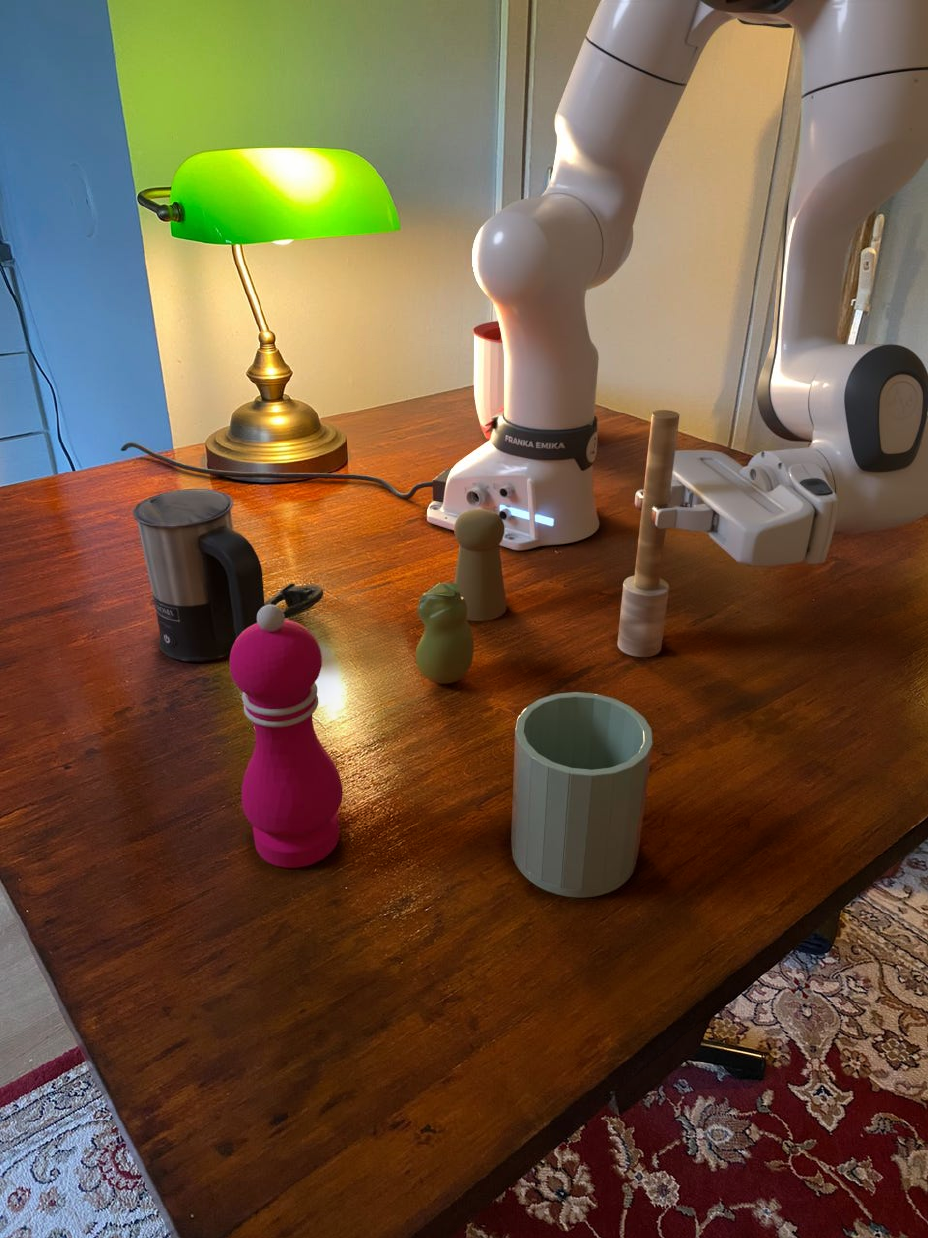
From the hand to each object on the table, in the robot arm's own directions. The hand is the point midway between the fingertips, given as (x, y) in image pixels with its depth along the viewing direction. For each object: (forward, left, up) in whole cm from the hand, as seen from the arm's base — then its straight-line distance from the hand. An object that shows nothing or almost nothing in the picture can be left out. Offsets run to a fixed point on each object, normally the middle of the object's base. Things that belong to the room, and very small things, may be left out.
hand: (646, 509), depth 84 cm
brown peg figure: (-17, +1, -15) cm, 23 cm away
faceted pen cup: (+5, -29, -15) cm, 33 cm away
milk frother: (-37, -14, -15) cm, 43 cm away
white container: (-35, +56, -15) cm, 68 cm away
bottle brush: (+1, +1, -15) cm, 15 cm away
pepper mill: (-14, -37, -15) cm, 43 cm away
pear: (-14, -13, -15) cm, 25 cm away
